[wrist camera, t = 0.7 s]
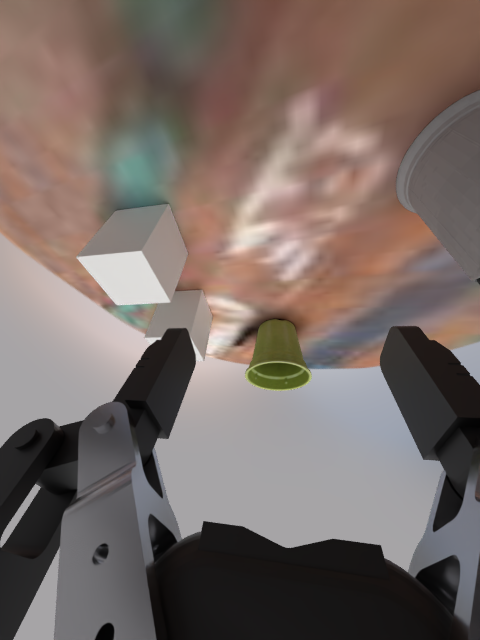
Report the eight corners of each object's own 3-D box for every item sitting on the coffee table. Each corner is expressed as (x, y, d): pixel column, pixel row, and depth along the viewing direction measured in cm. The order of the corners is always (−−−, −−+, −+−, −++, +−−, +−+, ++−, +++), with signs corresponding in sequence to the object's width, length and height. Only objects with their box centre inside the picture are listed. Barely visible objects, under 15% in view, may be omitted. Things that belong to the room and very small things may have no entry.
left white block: (115, 210, 24) (76, 257, 19) (168, 203, 23) (141, 250, 18) (143, 257, 29) (116, 305, 24) (188, 253, 28) (170, 302, 23)
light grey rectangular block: (162, 292, 33) (144, 337, 28) (202, 289, 32) (190, 336, 27) (177, 318, 38) (164, 361, 33) (212, 316, 37) (204, 361, 32)
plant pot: (236, 326, 38) (231, 374, 33) (283, 302, 33) (286, 355, 28) (270, 349, 44) (271, 394, 38) (316, 332, 38) (324, 382, 33)
